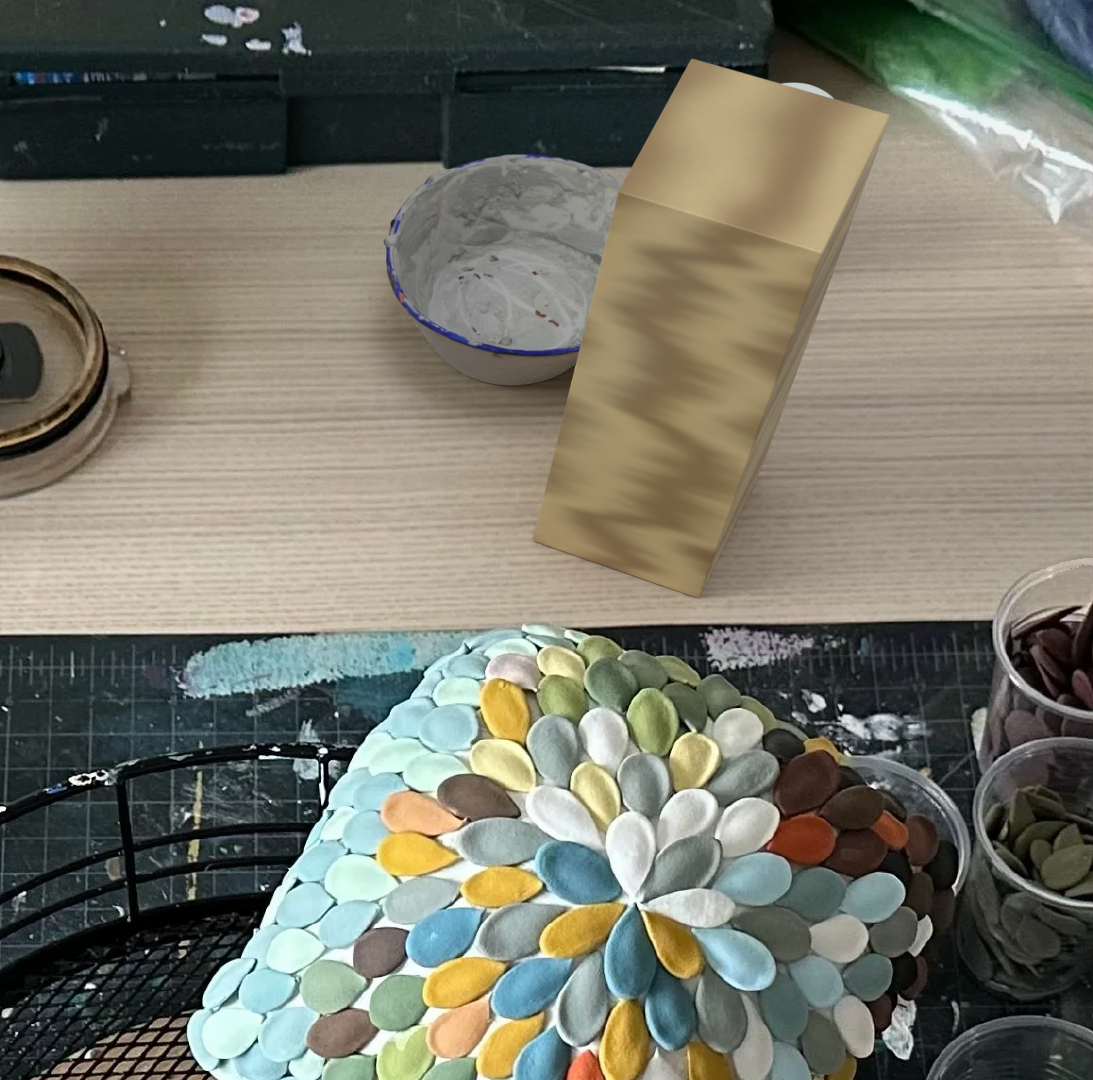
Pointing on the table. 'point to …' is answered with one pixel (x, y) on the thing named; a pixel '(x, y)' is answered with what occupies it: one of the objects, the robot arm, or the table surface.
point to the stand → (702, 319)
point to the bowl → (503, 263)
